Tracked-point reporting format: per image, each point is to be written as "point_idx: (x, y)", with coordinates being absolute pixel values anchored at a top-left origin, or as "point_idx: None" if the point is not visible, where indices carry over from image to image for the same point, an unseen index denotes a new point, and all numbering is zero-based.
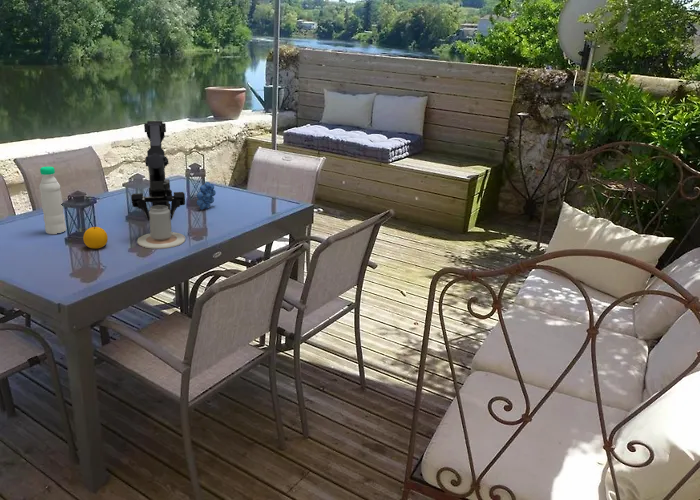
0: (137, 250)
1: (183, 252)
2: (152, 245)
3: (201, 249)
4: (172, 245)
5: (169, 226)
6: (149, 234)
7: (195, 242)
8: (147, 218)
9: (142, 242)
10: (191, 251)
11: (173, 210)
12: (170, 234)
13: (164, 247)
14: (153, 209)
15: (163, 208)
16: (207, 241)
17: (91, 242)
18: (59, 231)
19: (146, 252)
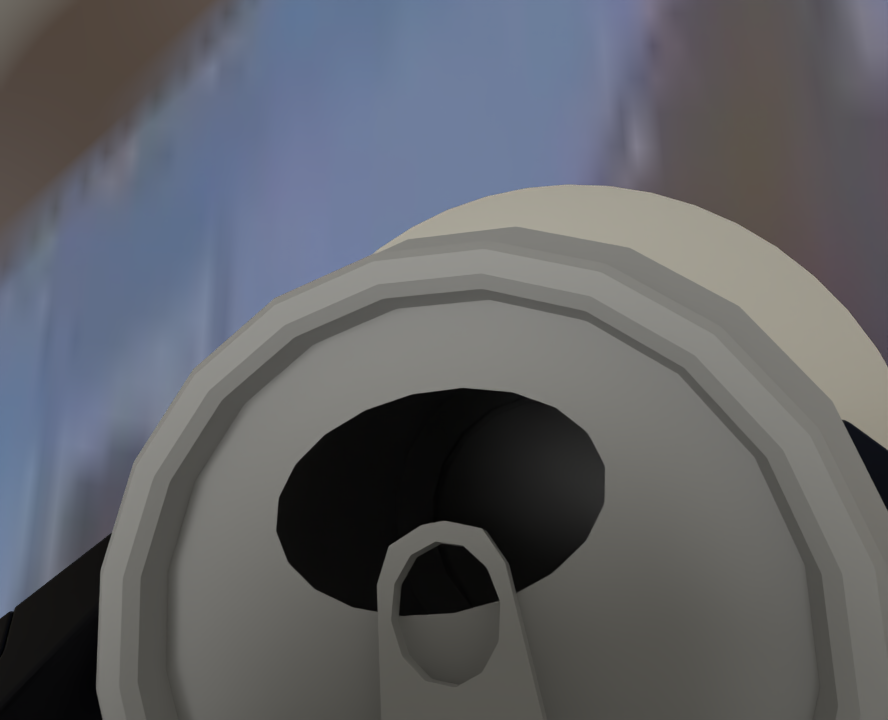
0: (861, 157)
1: (300, 70)
2: (662, 240)
3: (125, 153)
4: (405, 232)
5: (361, 429)
6: None
7: (160, 386)
8: (867, 435)
9: (830, 386)
10: (222, 98)
11: (43, 593)
12: (402, 446)
13: (504, 199)
14: (688, 316)
15: (288, 601)
16: (41, 403)
17: None
18: None
19: (724, 80)
